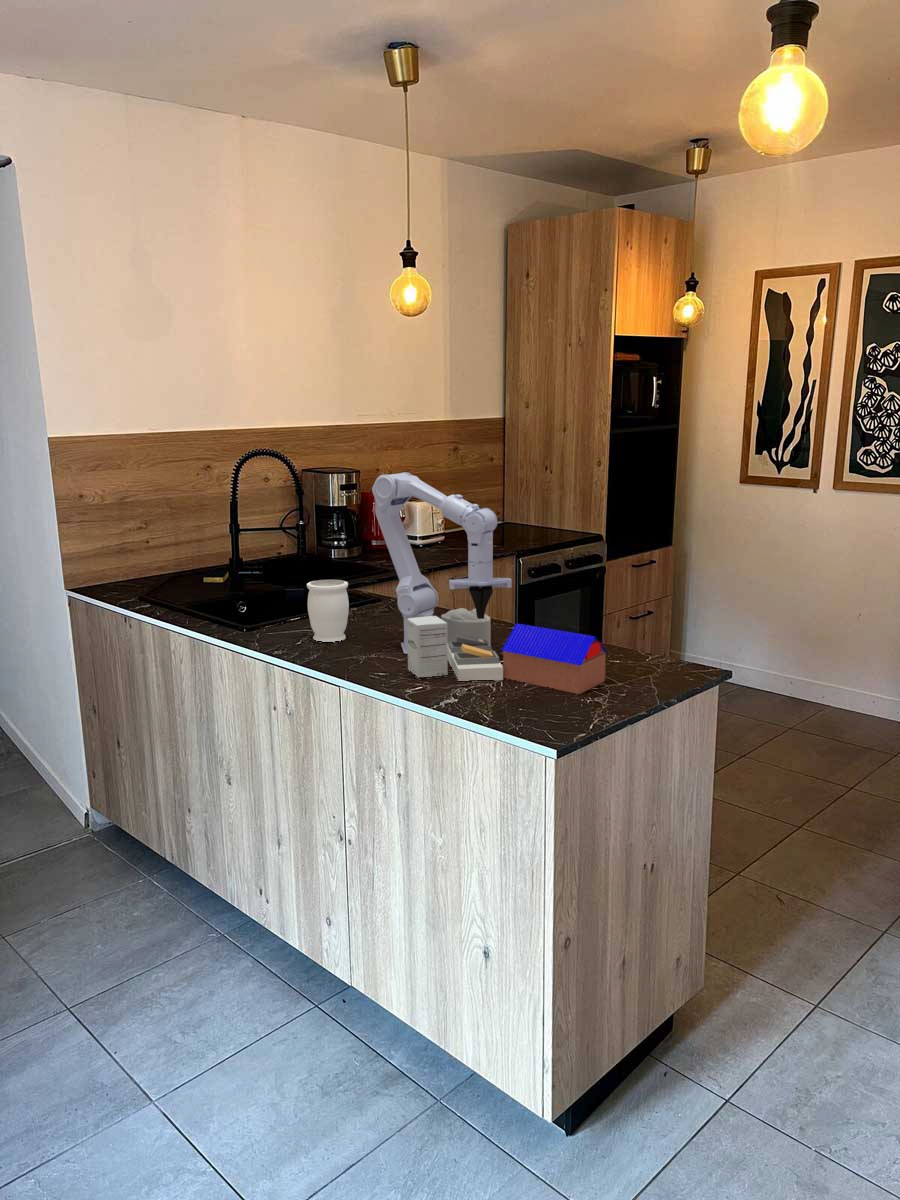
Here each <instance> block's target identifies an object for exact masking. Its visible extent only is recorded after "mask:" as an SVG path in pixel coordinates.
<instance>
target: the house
mask: <svg viewBox="0 0 900 1200" xmlns="http://www.w3.org/2000/svg"><path fill="white" fill-rule="evenodd" d="M501 652H502V653H503V662H502V663H503V664H502V666H503V679H504V678H506V679H505V680H509V679H511V680H510V681H514V680H516V681H515V682H519V681H520V683H523V682H525V683H524V684H528V683H529V685H534V686H538V687H544V688H547V687H549V689H552V688H554V689H553V690H557V691H562V692H568V693H571V694H575V695H576V694H577V695H581V694H583V693H585V692H587V691H589V690H592V688H595V687H597V686H599V685H600V684H602V683H605V682H606V662H607V661H606V658H607V657H606V655H607V654H608V651H607V649H605V647H604V646H603V645H602V643H601V642H600V641H599V640H598V637H596V636H594V635H589V634H583V633H578V632H577V633H576V632H570V631H564V630H561V629H560V630H559V629H552V628H547V627H543V626H542V627H541V626H534V625H530V624H522V623H516V624H515V625H514V627H513V629H512V630H511V632H510V635H509V636H508V638H507V640H506V641H505V643H504V645H503V646H502V649H501Z"/></svg>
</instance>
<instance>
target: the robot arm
mask: <svg viewBox="0 0 900 1200" xmlns="http://www.w3.org/2000/svg"><path fill="white" fill-rule="evenodd" d="M371 492H372V495H373V497H374V504H375V505H374V509H375V510H374V512H375V517H376V519H377V521H378V525H379V527H380V530H381V533H382V535H383V536H382V537H383V538H384V541H385V545H386V547H387V549H388V552H389V556H390V559H391V562H392V564H393V566H394V570H395V571H396V575H397V577H398V581H399V582H398V585H397V586H396V588H395V592H396V593H395V594H396V596H397V608H398V611H400V613H401V614H402V618H403V642H400V645H401V648H402V651H403V654H405V655H408V632H407V619H408V618H416V617H426V616H434V612H435V610H434V609H436V607H437V606H438V604H439V595H438V592H437V590H436V589H435V587H433V586H432V584H431V582H430V579H429V578H428V577H426V576H425V575H424V574H422V573H421V571H420V568H419V565H418V563H417V560H416V556H415V554H414V551H413V548H412V546H411V543H410V540H409V538H408V534H407V532H406V529H405V526H404V524H403V522H402V518H401V516H400V513H401V511H402V509H403V507H404V505H406V503H407V502H408V501H409V500H410V499H411V498H412V497H414V498H416V499H418V500H421V501H423V502H425V503H427V504H429V505H431V506H432V507H435V508H437V509H440V513H441V515H442V517H444V518H446V519H447V520H450V521H452V522H453V523H455V524H457V525H459V526H460V527H462V528H463V530H464V531H465V532H466V535H467V550H468V551H467V552H468V553H467V556H468V557H467V558H468V559H467V567H468V569H467V571H468V573H467V576H468V577H465V578H458V579H457V578H456V579H449V580H448V583H449V585H448V586H449V587H448V588H449V589H450V590H455V589H468V592H469V593H470V597H471V598H472V602H473V604H474V607H475V608H476V613H477V618H478V619H484V614H486V609H487V607H488V604H489V601H490V600H491V597H492V596H493V592H494V589H493V588H507V589H508V588H512V583H513V582H512V581H513V580H512V578H510V577H493V575H494V574H493V572H494V571H493V569H494V568H493V567H494V565H493V564H494V562H493V561H494V559H493V557H494V555H493V552H494V551H493V550H494V548H493V547H494V544H493V542H494V541H493V540H494V539H493V538H494V531H495V529H497V527H498V517H497V515H496V513H495V512H494V511H493V510H491V508H488V507H483V508H480V506H479V504H477V503H471V502H469V501H467V500H465V499H464V498H463V497H464V496H463V495H461V494H450V495H448V496H447V495H445V494H444V493H443V492H441V491H439V490H438V489H436V488H434V487H433V486H431V485H429V484H427V483H426V482H424V481H422V480H421V479H420V478H419V477H418V476H416V475H414V474H411V473H410V472H406V471H402V472H399V473H393V474H381V475H379V476H378V477H377V478H376V479H375V482H374V484H373V486H372V488H371ZM475 608H474V609H475Z"/></svg>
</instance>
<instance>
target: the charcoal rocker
mask: <svg viewBox="0 0 900 1200" xmlns="http://www.w3.org/2000/svg"><path fill="white" fill-rule="evenodd" d="M455 639H456V641H457V642H461V643H466V644H471V645H476V646H486V643H485V641H484V640H483V639H478V638H474V637H469V636H464V635H460V634H455Z"/></svg>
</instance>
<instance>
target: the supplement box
mask: <svg viewBox="0 0 900 1200" xmlns="http://www.w3.org/2000/svg"><path fill="white" fill-rule="evenodd" d="M407 632H408V654H407V671H408V670H409V671H408V672H410V671H411V672H412V673H413V674H415V675H416V676H417V677H418V678H419V677H432V676H442V675H449V674H448V670H449V669H448V668H449V667H448V664H449V663H448V662H449V661H448V657H447V622H445V621H443V620H442V619H441V617H438V616H437V615H433V616H426V617H416V618H408V619H407ZM411 672H410V673H411ZM412 673H411V674H412ZM413 674H412V675H413ZM416 676H415V677H416ZM417 677H416V678H417ZM418 678H417V679H418Z"/></svg>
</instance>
